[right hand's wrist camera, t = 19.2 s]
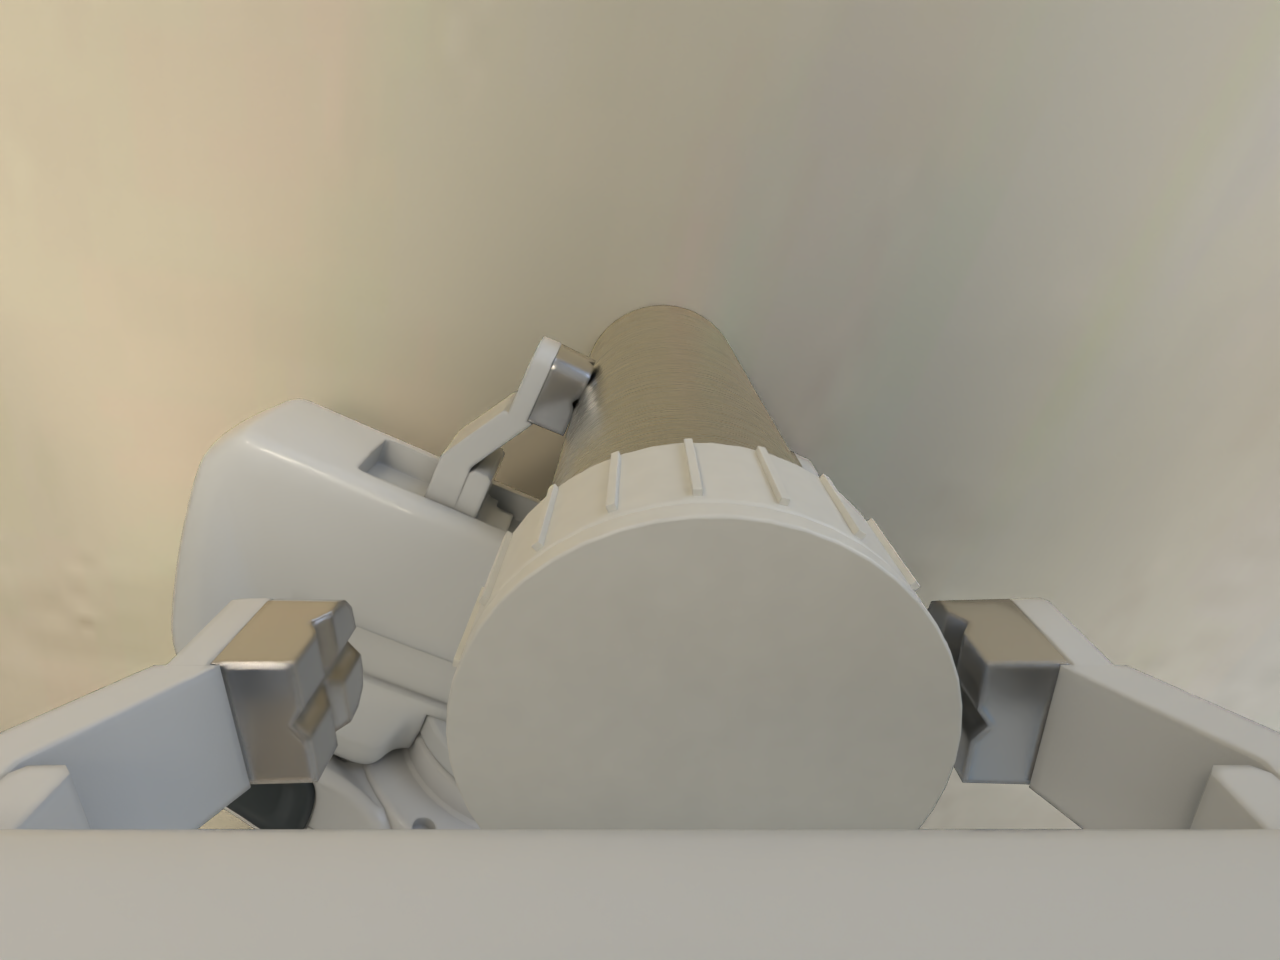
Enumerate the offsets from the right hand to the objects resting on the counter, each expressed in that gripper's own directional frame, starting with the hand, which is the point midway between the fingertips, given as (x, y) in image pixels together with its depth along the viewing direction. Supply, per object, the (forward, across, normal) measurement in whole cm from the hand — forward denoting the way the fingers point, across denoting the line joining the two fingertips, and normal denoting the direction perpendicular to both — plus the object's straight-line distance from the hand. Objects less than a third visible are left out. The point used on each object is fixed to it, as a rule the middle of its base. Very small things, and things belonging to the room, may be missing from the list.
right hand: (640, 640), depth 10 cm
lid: (-2, -1, 0) cm, 2 cm away
